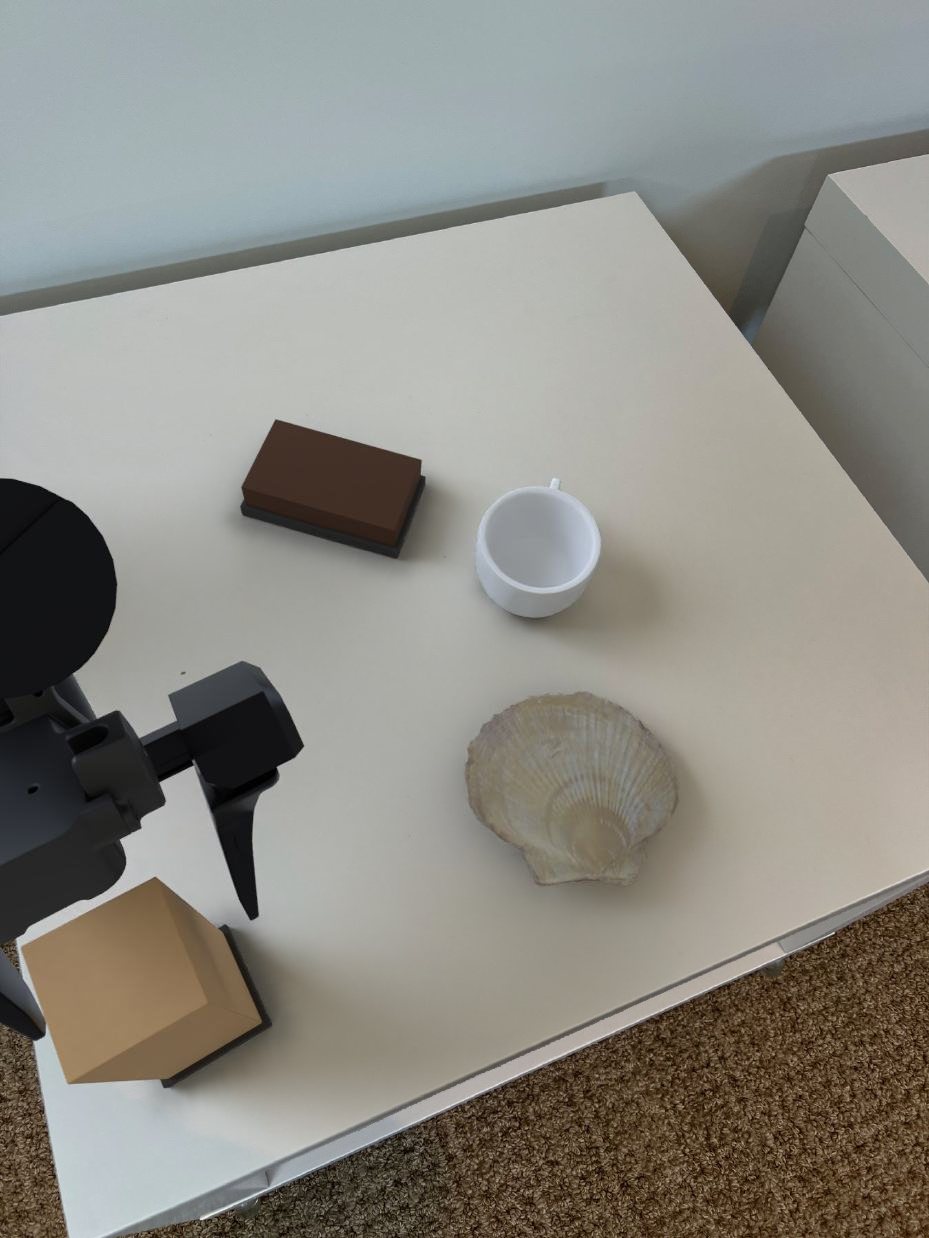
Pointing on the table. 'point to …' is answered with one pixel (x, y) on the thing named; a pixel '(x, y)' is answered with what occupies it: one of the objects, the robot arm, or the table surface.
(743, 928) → the table surface
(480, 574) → the teacup
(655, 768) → the seashell
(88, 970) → the tan block on base
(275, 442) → the brown slab
